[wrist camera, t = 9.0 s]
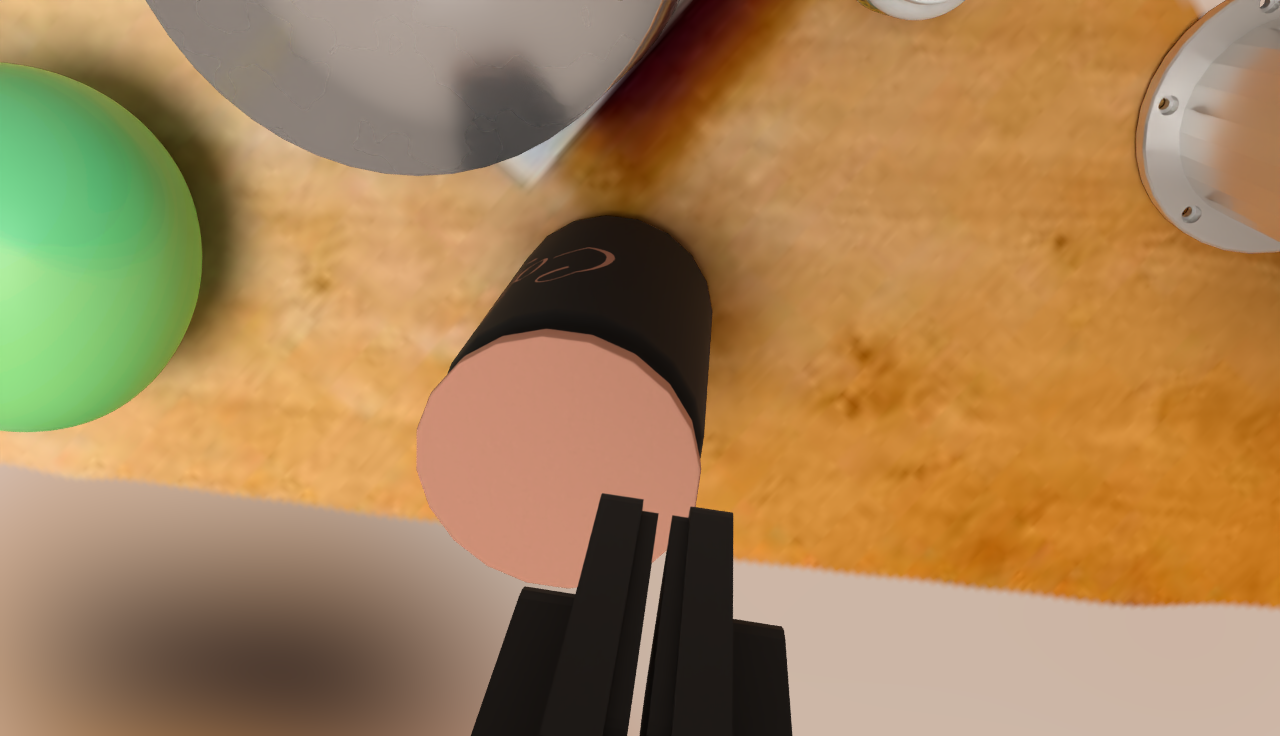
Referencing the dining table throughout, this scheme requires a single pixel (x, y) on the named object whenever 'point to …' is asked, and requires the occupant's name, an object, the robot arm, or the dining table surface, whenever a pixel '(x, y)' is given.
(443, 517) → the coffee jar
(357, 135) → the lid
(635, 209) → the dining table surface
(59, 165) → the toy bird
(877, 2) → the supplement bottle
